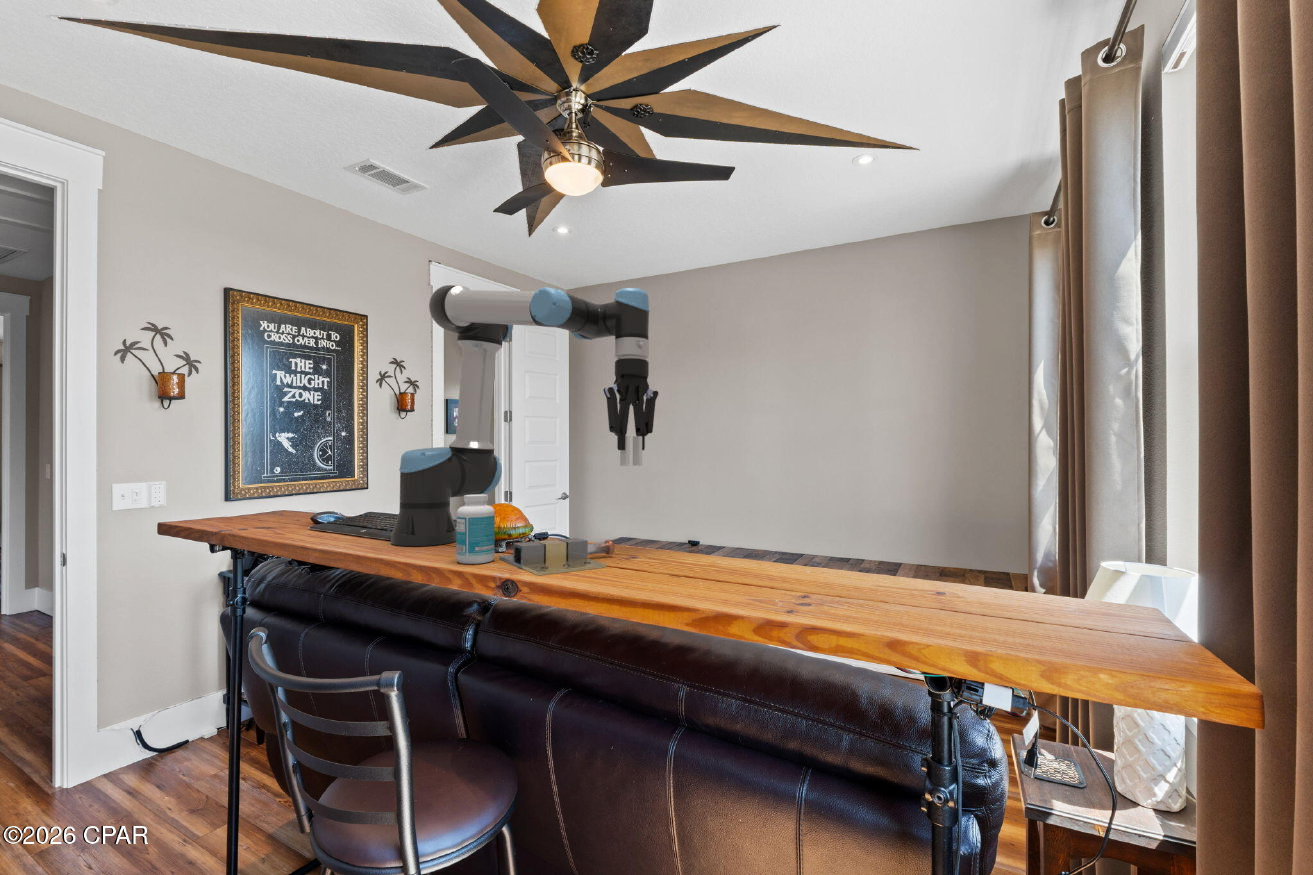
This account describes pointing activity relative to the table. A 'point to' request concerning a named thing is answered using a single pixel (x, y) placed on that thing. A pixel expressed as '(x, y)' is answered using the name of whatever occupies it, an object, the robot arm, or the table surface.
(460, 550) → the pill bottle
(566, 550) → the three blocks on plate
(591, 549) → the hinge pin
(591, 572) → the table surface
